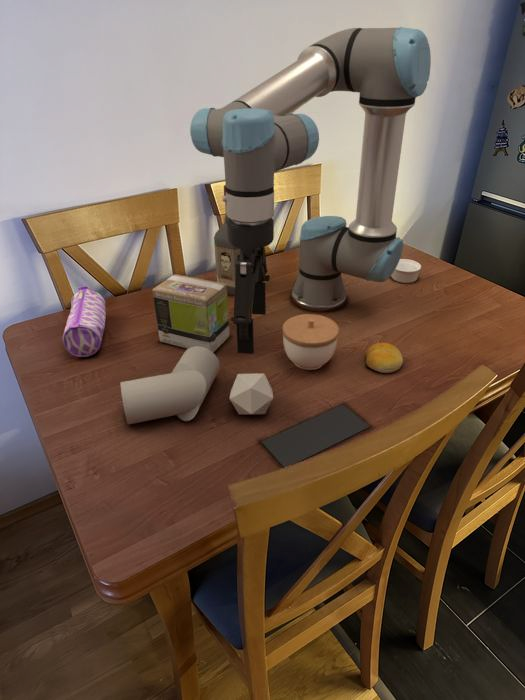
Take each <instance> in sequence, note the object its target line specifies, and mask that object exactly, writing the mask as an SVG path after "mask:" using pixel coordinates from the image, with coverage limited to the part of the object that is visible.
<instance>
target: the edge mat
mask: <svg viewBox="0 0 525 700" xmlns="http://www.w3.org/2000/svg"><path fill="white" fill-rule="evenodd" d="M370 428H371V427H370V425H369V424H367V422H365V421H364V420H363V419H361V418H360V417H359V416H358V415H357V414H356V413H355V412H353V411H352V410H351V409H350V408H348V407H347V406H346V405H345V404H340V405H338V406H336V407H333V408H332V409H329V410H327V411H325V412H323V413H320V414H319V415H316V416H314V417H312V418H310V419H307V420H305V421H303V422H301V423H298V424H296V425H294V426H292V427H290V428H287V429H286V430H283V431H281V432H278V433H277V434H275V435H272V436H270V437H268V438H265V439H263V440H262V441H260V442H261V444H262V445H263V447H265V448H266V449H267V451H269V453H270V454H271V455H272V456H273V457H274V459H275V460H276V461H277V462H278V463H279V464H280V465H281V467H282V468H284V467H286V466H289V465H292V464H295V463H297V464H299V463H300V461H301V462H303V461H305V460H308V459H309V458H311V457H313V456H315V455H317V454H319V453H321V452H323V451H326V450H328V449H329V448H331V447H333V446H335V445H337V444H339V443H341V442H343V441H345V440H347V439H349V438H351V437H354V436H356V435H357V434H360V433H361V432H363V431H365V430H367V429H370ZM298 462H299V463H298ZM295 465H296V464H295Z"/></svg>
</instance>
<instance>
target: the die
mask: <svg viewBox="0 0 525 700" xmlns="http://www.w3.org/2000/svg"><path fill="white" fill-rule="evenodd" d="M273 400H274V393H273V388H272V386H271V384H270V381H269V380H268V378H267V376H266V374H265V373H237V374H236V377H235V380H234V382H233V384H232V387H231V389H230V394H229V401H230V402H231V404H232V406H233V407H234V409H235V410H236V412H237V414H238V415H265V414H266V413H267V411H268V409H269V407H270V405H271V403H272V401H273Z"/></svg>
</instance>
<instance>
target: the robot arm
mask: <svg viewBox="0 0 525 700" xmlns="http://www.w3.org/2000/svg"><path fill="white" fill-rule="evenodd" d="M431 56H432V55H431V47H430V43H429V39H428V36H426V34H425V33H424V32H423V31H422V30H421V29H418V28H411V27H402V26H399V27H363V28H362V27H351V28H346V29H343V30H340V31H337V32H335V33H332V34H330V35H328V36H325V37H324V38H322V39H320V40H317V41H316V42H314V43H312V44H311V45H309V46H307V47H306V48H304V49H303V50H302V51H301V52H300V54H299V55H298V56H297V59H296V61H294V62H292V63H290V64H289V65H288V66H286V67H285V68H283V69H281V70H280V71H279V72H277V73H275V74H274V75H272V76H271V77H269V78H267V79H265V80H264V81H262V82H261V83H259V84H258V85H256V86H255V87H253V88H251V89H250V90H248V91H247V92H245V93H243V94H242V95H240V96H239V97H237V98H236V99H234V100H233V101H231V102H229V103H228V104H226V105H225V106H222V107H221V108H215V107H209V108H208V107H207V108H201V109H199V110H198V111H196V112H195V114H194V115H193V117H192V119H191V122H190V127H189V133H190V134H189V135H190V138H191V143H192V145H193V146H194V147H195V149H196V150H197V151H198V152H200V153H201V154H206V155H208V156H209V155H210V156H212V157H213V158H214V157H217V158H218V157H220V158H223V167H224V182H225V184H224V185H225V190H226V196H224V195H223V196H222V198H221V200H222V202H224V203H225V202H227V205H226V210H227V217H228V218H229V219H228V220H227V238H228V242H229V243H230V244H231V245H233V246H236V247H238V248H239V249H240V255H239V254H238V256H237V261H236V263H235V266H236V281H235V296H234V301H233V316H231V317H230V321H231V322H232V323H233V325H235V326H236V347H237V353H238V354H248V355H251V354H252V355H254V353H255V345H254V344H255V341H254V339H255V338H254V333H255V332H254V318H253V315H262V316H266V314H267V312H266V311H267V307H266V305H267V304H266V299H267V298H266V295H267V293H266V289H267V288H266V287H267V286H266V282H270V278H271V277H270V275H269V274H268V268H267V267H268V265H267V256H266V255H267V254H266V247H268V246H270V244H272V243H273V242H274V238H275V237H274V236H275V235H274V233H275V229H274V228H275V226H274V225H275V221H274V219H273V217H274V215H275V173H277V172H279V171H282V170H284V169H287V168H290V167H292V166H298V165H301V164H302V163H304V162H305V161H307V160H309V159H311V157H313V155H315V153H316V152H317V150H318V147H319V143H320V133H319V132H320V131H319V129H318V126H317V124H316V122H315V121H314V120H313V119H312V117H310V116H309V115H307V114H305V113H295V112H296V111H297V110H299V109H300V108H301V107H303V106H304V105H306V104H308V102H310V101H311V100H313V99H314V98H322V97H325V96H327V95H329V93H333V92H349V93H359V95H358V96H359V98H358V105H359V106H360V108H361V109H362V111H364V121H363V133H362V144H361V157H360V167H359V179H358V188H357V199H356V200H357V201H356V210H355V218H354V220H353V221H351V222H350V223H349V224H348V223H347V220H346V219H345V218H344V217H342V216H338V215H337V216H336V215H322V216H316V217H313V218H310V219H307V220H306V221H304V222H303V224H301V227H300V234H299V266H298V267H299V268H298V275H297V278H296V280H295V283H294V285H293V287H292V290H291V301H292V303H293V304H294V305H295V306H297V307H298V308H301V309H302V310H306V311H311V312H317V313H319V312H320V313H321V312H331V311H335V310H337V309H340V308H341V307H343V306H344V305H345V304H346V299H347V292H346V288H345V284H344V280H343V277H342V274H344V275H347V276H351V277H355V278H358V279H362V280H366V282H374V283H380V284H381V283H384V282H386V281H388V280H389V279H390V277H391V275H392V274H393V272H394V270H395V269H396V267H397V265H398V262H399V260H400V259H401V258H402V254H403V250H404V240H403V239H402V238H400V237H399V236H398V237H397V234H398V233H397V232H398V227H397V225H396V224H395V223H394V222H393V213H394V207H395V198H396V191H397V183H398V177H399V169H400V162H401V161H400V160H401V156H402V155H401V153H402V147H403V138H404V131H405V123H406V117H407V113H408V111H410V110H411V109H412V108H413V107H414V106H415V104H416V98H418V97H421V96H422V95H423V94H424V93H425V91H426V89H427V87H428V82H429V79H430V75H431V63H432V61H431V60H432V57H431ZM347 224H348V226H347ZM267 274H268V275H267Z"/></svg>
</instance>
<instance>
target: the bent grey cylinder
mask: <svg viewBox="0 0 525 700" xmlns="http://www.w3.org/2000/svg"><path fill="white" fill-rule="evenodd" d="M220 367H221V365H220V360H219V359H218V357H217V355H216V354H215V353H214V352H211V351H210V350H208V349H206V348H204V347H199V346H195V347H191V348H189V349H187V348H186V350H185V351H184V353H183V354H182V356H181V357H180V359H179V360H178V362H177V363H176V365H175V367H174V368H173V370H172V372H171V373H164V374H159V375H154V376H147V377H142V378H137V379H131V380H126V381H121V382H120V393H121V398H122V399H121V400H122V404H123V405H122V406H123V410H124V415H125V419H126V420H125V421H126V423H127V425H133V424H138V423H143V422H149V421H153V420H158V419H163V418H167V417H168V418H169V417H172V416H174V417H175V416H177V418H178V419H180V420H181V421H183V422H188V421H191V420H193V419H194V418H195V417H196V415H197V414H198V412H199V410H200V408H201V406H202V404H203V402H204V400H205V398H206V396H207V394H208V393H209V391H210V388H211V386H212V384H213V383H214V381H215V379H216V377H217V375H218V373H219V371H220Z"/></svg>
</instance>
